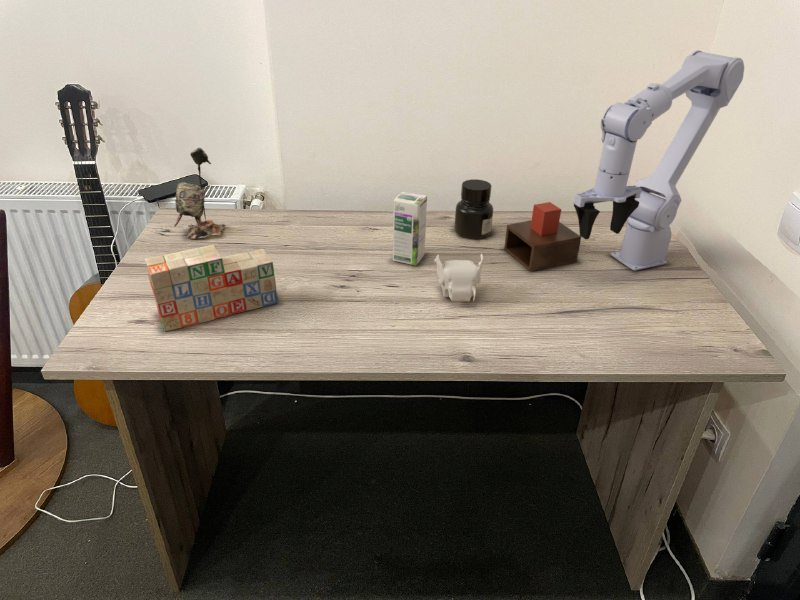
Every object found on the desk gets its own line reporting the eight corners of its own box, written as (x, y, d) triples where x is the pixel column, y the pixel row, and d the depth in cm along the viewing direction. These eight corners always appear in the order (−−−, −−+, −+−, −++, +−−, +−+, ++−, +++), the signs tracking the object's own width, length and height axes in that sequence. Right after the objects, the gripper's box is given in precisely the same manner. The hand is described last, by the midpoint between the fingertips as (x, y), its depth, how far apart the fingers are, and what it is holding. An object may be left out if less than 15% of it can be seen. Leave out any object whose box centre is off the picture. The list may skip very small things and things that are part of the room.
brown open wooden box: (547, 241, 141) (552, 216, 138) (576, 262, 133) (581, 236, 129) (503, 249, 137) (506, 224, 134) (530, 271, 129) (534, 245, 125)
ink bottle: (493, 241, 141) (498, 193, 134) (455, 240, 141) (459, 192, 134) (488, 223, 149) (493, 177, 142) (452, 222, 149) (456, 176, 143)
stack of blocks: (268, 289, 121) (262, 234, 114) (278, 304, 116) (272, 247, 110) (158, 315, 113) (143, 257, 106) (163, 332, 108) (149, 273, 101)
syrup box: (391, 261, 132) (392, 199, 124) (401, 250, 136) (403, 189, 128) (416, 266, 130) (418, 204, 122) (425, 254, 134) (428, 194, 127)
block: (546, 225, 134) (550, 201, 131) (557, 233, 131) (561, 209, 128) (530, 228, 132) (533, 204, 129) (541, 236, 129) (544, 212, 126)
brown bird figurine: (184, 224, 146) (169, 143, 135) (230, 226, 145) (218, 145, 134) (171, 239, 139) (153, 155, 128) (219, 241, 138) (205, 157, 127)
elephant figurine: (437, 312, 115) (439, 272, 110) (431, 280, 125) (433, 242, 120) (486, 312, 115) (491, 271, 110) (476, 280, 125) (480, 242, 121)
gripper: (596, 181, 108) (582, 248, 115) (658, 172, 113) (641, 237, 120) (572, 168, 114) (560, 233, 121) (633, 160, 119) (618, 223, 126)
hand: (599, 234), depth 121 cm, fingers open, 7 cm apart
